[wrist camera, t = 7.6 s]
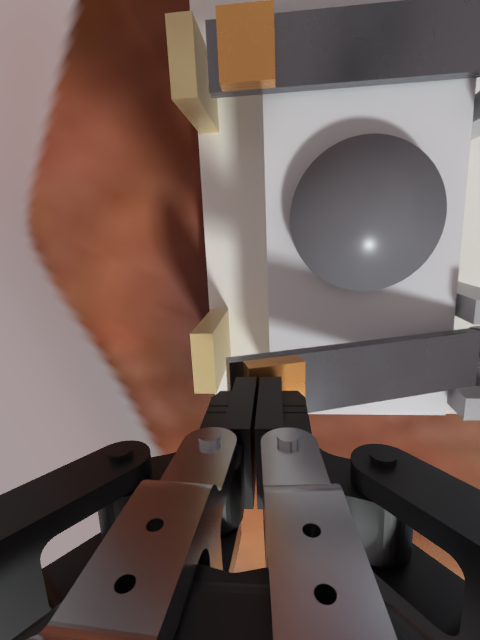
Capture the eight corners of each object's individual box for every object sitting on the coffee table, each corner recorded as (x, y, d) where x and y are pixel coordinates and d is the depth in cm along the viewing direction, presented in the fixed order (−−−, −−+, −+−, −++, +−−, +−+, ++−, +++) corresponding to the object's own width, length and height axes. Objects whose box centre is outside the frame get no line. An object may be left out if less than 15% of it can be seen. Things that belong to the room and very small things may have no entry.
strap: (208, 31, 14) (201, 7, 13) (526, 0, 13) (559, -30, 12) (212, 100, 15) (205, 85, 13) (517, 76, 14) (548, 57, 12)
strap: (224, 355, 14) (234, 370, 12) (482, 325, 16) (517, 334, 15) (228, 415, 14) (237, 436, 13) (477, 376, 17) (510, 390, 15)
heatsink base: (194, 2, 19) (152, -110, 13) (512, -35, 17) (645, -185, 11) (219, 402, 24) (197, 463, 18) (466, 404, 22) (539, 471, 16)
